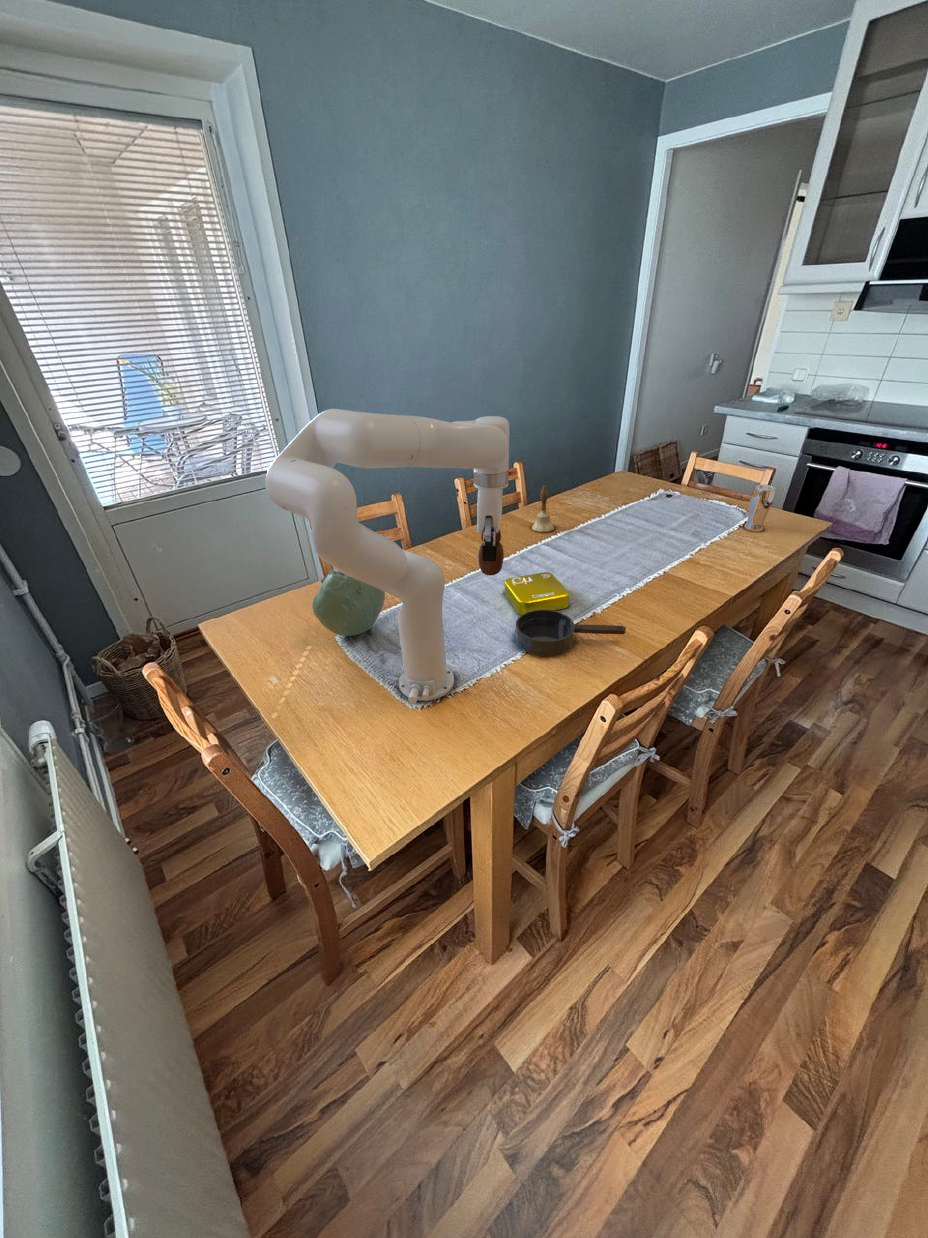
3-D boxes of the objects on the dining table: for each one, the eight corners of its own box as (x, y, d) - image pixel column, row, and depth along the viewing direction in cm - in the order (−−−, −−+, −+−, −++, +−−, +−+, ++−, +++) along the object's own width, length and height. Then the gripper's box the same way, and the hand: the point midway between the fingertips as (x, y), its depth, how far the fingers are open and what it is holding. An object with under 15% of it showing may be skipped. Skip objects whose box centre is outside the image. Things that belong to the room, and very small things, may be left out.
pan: (575, 657, 121) (576, 642, 119) (514, 655, 123) (514, 640, 120) (571, 624, 133) (572, 610, 131) (516, 623, 135) (516, 608, 133)
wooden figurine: (500, 579, 117) (501, 518, 109) (476, 577, 118) (475, 516, 111) (505, 566, 123) (506, 507, 115) (481, 565, 124) (481, 506, 116)
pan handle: (625, 635, 123) (626, 630, 123) (572, 633, 125) (573, 628, 124) (624, 630, 125) (625, 625, 124) (572, 628, 127) (572, 623, 126)
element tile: (520, 617, 137) (520, 602, 135) (502, 591, 150) (502, 577, 147) (571, 607, 140) (572, 592, 138) (549, 583, 153) (550, 569, 150)
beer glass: (744, 531, 179) (755, 490, 171) (741, 524, 185) (752, 483, 177) (766, 532, 177) (778, 491, 169) (762, 525, 183) (774, 484, 175)
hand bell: (527, 526, 191) (528, 485, 182) (546, 522, 193) (548, 481, 185) (539, 534, 184) (541, 491, 176) (558, 529, 187) (561, 487, 178)
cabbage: (309, 634, 134) (292, 567, 124) (368, 607, 145) (357, 543, 134) (340, 658, 124) (324, 588, 114) (401, 628, 135) (392, 560, 124)
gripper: (478, 467, 116) (479, 538, 126) (468, 490, 102) (470, 569, 111) (510, 467, 115) (509, 539, 125) (505, 490, 101) (504, 570, 110)
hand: (491, 553), depth 118 cm, fingers closed on wooden figurine, 6 cm apart
